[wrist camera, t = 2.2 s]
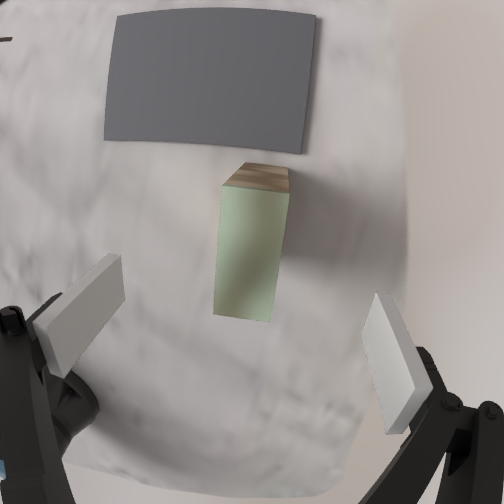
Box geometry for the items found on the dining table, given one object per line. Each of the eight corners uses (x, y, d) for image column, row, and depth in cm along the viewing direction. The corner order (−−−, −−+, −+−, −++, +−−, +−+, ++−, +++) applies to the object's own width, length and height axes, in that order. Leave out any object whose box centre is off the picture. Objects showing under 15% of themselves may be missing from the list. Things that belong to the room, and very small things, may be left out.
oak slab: (236, 249, 33) (213, 314, 22) (245, 162, 29) (221, 185, 18) (275, 254, 33) (270, 322, 22) (287, 167, 29) (289, 194, 18)
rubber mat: (106, 139, 30) (103, 140, 29) (119, 17, 24) (117, 16, 24) (299, 153, 29) (300, 154, 28) (315, 17, 23) (315, 15, 23)
